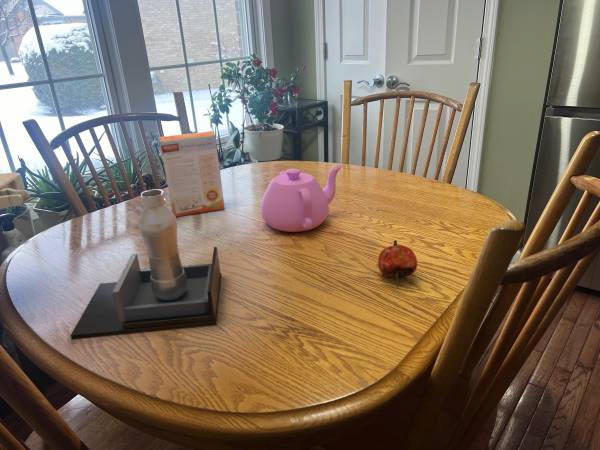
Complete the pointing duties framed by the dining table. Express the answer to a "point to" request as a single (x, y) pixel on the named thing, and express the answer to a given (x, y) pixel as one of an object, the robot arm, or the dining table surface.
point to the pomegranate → (397, 261)
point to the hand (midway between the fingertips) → (25, 197)
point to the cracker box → (192, 172)
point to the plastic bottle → (162, 246)
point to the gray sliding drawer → (154, 307)
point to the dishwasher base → (105, 320)
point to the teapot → (297, 200)
